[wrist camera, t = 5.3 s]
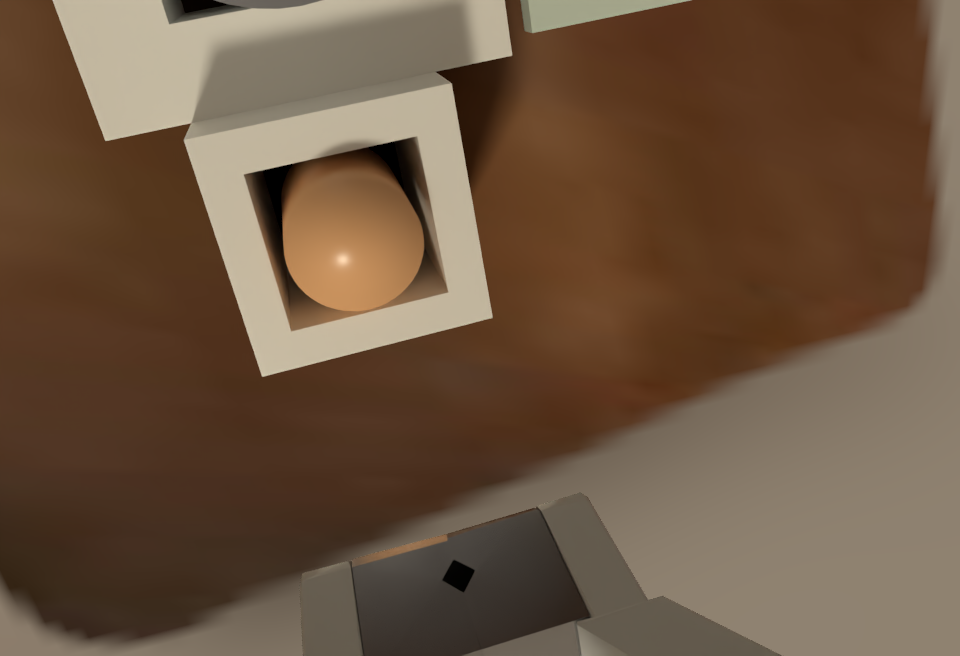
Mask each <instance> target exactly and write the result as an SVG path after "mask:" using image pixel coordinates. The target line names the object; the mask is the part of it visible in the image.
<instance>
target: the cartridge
mask: <svg viewBox="0 0 960 656" xmlns="http://www.w3.org/2000/svg"><path fill="white" fill-rule="evenodd" d="M215 1H218V2H222V3H225V4H229V5H235V6H241V7H248V8H257V9H281V8H289V7H297V6H303V5H307V4H311V3H314V2H318V1H322V0H215Z"/></svg>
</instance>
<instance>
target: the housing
mask: <svg viewBox="0 0 960 656" xmlns="http://www.w3.org/2000/svg"><path fill="white" fill-rule="evenodd" d="M53 3H54V5H55V8H56V11H57V13H58V16H59V19H60V21H61V24H62V27H63V29H64V32H65V35H66V37H67V40H68V42H69V45H70V48H71V50H72V53H73V56H74V58H75V61H76V64H77V66H78V69H79V72H80V74H81V77H82V80H83V82H84V85H85V88H86V90H87V93H88V96H89V98H90V101H91V104H92V106H93V109H94V112H95V114H96V117H97V120H98V122H99V125H100V128H101V130H102V133H103V136H104V138H105V141H108V140H113V139H118V138H122V137H127V136H132V135H137V134H141V133H146V132H151V131H156V130H160V129H165V128H170V127H175V126H180V125H184V124H189V123H191V125H190V127H189V130H188V132H187V134H186V136H185V138H184V142H185V145H186V148H187V151H188V154H189V157H190V160H191V163H192V166H193V169H194V172H195V175H196V178H197V181H198V184H199V187H200V190H201V194H202V197H203V200H204V203H205V206H206V209H207V212H208V215H209V218H210V221H211V224H212V227H213V230H214V233H215V236H216V239H217V242H218V245H219V248H220V251H221V254H222V257H223V260H224V263H225V266H226V269H227V272H228V275H229V278H230V281H231V284H232V287H233V290H234V293H235V296H236V299H237V302H238V305H239V308H240V311H241V314H242V317H243V320H244V323H245V326H246V329H247V332H248V335H249V338H250V341H251V344H252V347H253V350H254V353H255V356H256V359H257V362H258V365H259V368H260V371H261V374H262V377H263V376H267V375H271V374H275V373H278V372H282V371H286V370H290V369H294V368H298V367H302V366H306V365H310V364H314V363H318V362H322V361H325V360H329V359H333V358H337V357H341V356H345V355H349V354H353V353H357V352H361V351H365V350H368V349H372V348H376V347H380V346H384V345H388V344H392V343H396V342H400V341H404V340H408V339H412V338H415V337H419V336H423V335H427V334H431V333H435V332H439V331H443V330H447V329H451V328H455V327H458V326H462V325H466V324H470V323H474V322H478V321H482V320H486V319H490V318H493V317H492V312H491V306H490V300H489V294H488V289H487V283H486V277H485V272H484V266H483V260H482V254H481V249H480V243H479V237H478V231H477V226H476V220H475V214H474V209H473V203H472V197H471V191H470V186H469V180H468V174H467V169H466V163H465V157H464V151H463V146H462V140H461V134H460V128H459V123H458V117H457V111H456V106H455V100H454V94H453V88H452V83H451V82H449V81H448V80H446V79H445V78H444V77H442V76H441V75H439V74H438V73H436V72H437V71H442V70H446V69H451V68H456V67H461V66H465V65H470V64H475V63H480V62H485V61H489V60H494V59H499V58H504V57H508V56H512V50H511V43H510V35H509V28H508V21H507V14H506V7H505V0H322V1H318V2H314V3H311V4H307V5H303V6H297V7H289V8H281V9H257V8H248V7H241V6H235V5H225V6H220V7H215V8H210V9H204V10H199V11H194V12H189V13H185V11H184V7H183V4H182V1H181V0H53ZM393 141H394V144H395V148H396V153H397V158H398V162H399V167H400V172H401V176H402V181H403V186H404V191H405V195H406V196H407V198H408V200H409V202H410V203H411V205H412V207H413V209H414V210H415V212H416V214H417V216H418V218H419V220H420V223H421V226H422V230H423V236H424V252H423V258H422V262H421V265H420V267H419V270H418V272H417V274H416V276H415V277H414V279H413V281H412V282H411V283H410V285H409V286H408V287H407V288H406V289H405V290H404V291H403V292H402V293H401V294H400V295H398V296H397V297H396V298H395V299H393V300H391V301H390V302H388V303H386V304H384V305H382V306H379V307H376V308H373V309H369V310H364V311H342V310H336V309H333V308H330V307H327V306H324V305H322V304H320V303H318V302H316V301H315V300H313V299H311V298H310V297H309V296H308V295H306V294H305V293H304V292H303V291H302V290H301V289H300V288H299V287H298V285H297V284H296V282H295V281H294V280H293V278H292V276H291V274H290V272H289V270H288V267H287V265H286V261H285V256H284V245H283V238H282V235H281V232H280V228H279V225H278V221H277V218H276V214H275V211H274V208H273V204H272V201H271V197H270V194H269V191H268V187H267V184H266V180H265V177H264V173H263V170H266V169H271V168H275V167H280V166H284V165H289V164H293V163H298V162H302V161H307V160H311V159H316V158H320V157H325V156H330V155H334V154H339V153H343V152H348V151H352V150H357V149H361V148H366V147H370V146H375V145H379V144H384V143H389V142H393Z"/></svg>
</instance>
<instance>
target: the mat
mask: <svg viewBox="0 0 960 656" xmlns="http://www.w3.org/2000/svg"><path fill="white" fill-rule="evenodd" d="M685 1H690V0H521V7H522V15H523V23H524V30H525V31H527V32H530V33H535V32H540V31H545V30H549V29H554V28H559V27H564V26H569V25H574V24H579V23H583V22H588V21H593V20H598V19H603V18H608V17H612V16H617V15H622V14H627V13H632V12H637V11H641V10H646V9H651V8H656V7H661V6H666V5H671V4H675V3H680V2H685Z"/></svg>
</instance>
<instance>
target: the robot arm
mask: <svg viewBox="0 0 960 656" xmlns="http://www.w3.org/2000/svg"><path fill="white" fill-rule="evenodd" d="M299 588H300V607H301V628H302V647H303V656H781V655H779V654H778V653H775V652H773V651H772V650H770V649H768V648H765V647H764V646H762V645H760V644H758V643H756V642H754V641H752V640H749V639H748V638H746V637H743V636H742V635H739V634H737V633H735V632H733V631H731V630H730V629H727V628H726V627H724V626H722V625H720V624H718V623H716V622H714V621H711V620H710V619H707V618H705V617H704V616H702V615H699V614H698V613H696V612H694V611H691V610H690V609H688V608H686V607H684V606H681V605H680V604H678V603H676V602H674V601H671V600H669V599H668V598H665V597H664V596H661V597H657V598H654V599H650V600H648V599H647V597H646V596H645V594H644V592H643V591H642V589H641V587H640V586H639V584H638V582H637V580H636V579H635V577H634V575H633V574H632V572H631V570H630V569H629V567H628V565H627V563H626V562H625V560H624V558H623V557H622V555H621V553H620V552H619V550H618V548H617V546H616V545H615V543H614V541H613V540H612V538H611V536H610V535H609V533H608V531H607V529H606V528H605V526H604V524H603V523H602V521H601V519H600V517H599V516H598V514H597V512H596V511H595V509H594V507H593V506H592V504H591V502H590V500H589V499H588V497H587V496H585V495H584V494H582V493H577V494H574V495H571V496H568V497H565V498H561V499H558V500H555V501H552V502H549V503H545V504H542V505H539V506H537V507H536V508H532V509H529V510H526V511H522V512H519V513H516V514H512V515H509V516H506V517H502V518H499V519H495V520H492V521H489V522H486V523H482V524H479V525H475V526H472V527H469V528H466V529H462V530H459V531H455V532H452V533H448V534H445V535H441V536H437V537H434V538H430V539H426V540H422V541H419V542H415V543H412V544H408V545H404V546H400V547H396V548H393V549H388V550H385V551H381V552H377V553H373V554H370V555H366V556H362V557H358V558H355V559H352V561H347V562H343V563H339V564H336V565H332V566H328V567H324V568H321V569H317V570H313V571H309V572H306V573H303V574H302V577H301V581H300V585H299Z"/></svg>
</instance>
